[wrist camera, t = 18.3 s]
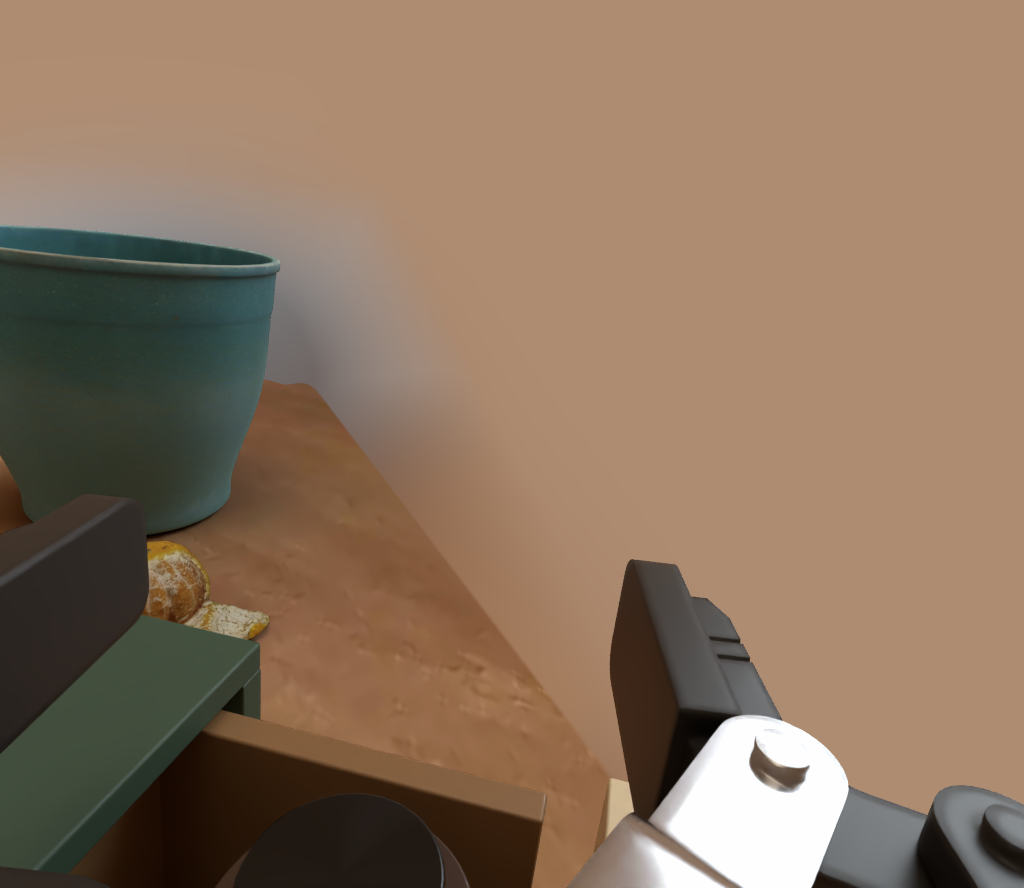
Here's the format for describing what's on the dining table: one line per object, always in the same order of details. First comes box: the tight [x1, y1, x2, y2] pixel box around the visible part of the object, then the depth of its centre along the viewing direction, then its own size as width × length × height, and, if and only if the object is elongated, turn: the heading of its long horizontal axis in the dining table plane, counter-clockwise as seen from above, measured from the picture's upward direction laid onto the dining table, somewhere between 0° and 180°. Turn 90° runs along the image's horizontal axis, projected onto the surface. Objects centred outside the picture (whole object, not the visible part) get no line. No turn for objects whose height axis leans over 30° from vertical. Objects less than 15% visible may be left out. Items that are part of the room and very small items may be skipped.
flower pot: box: [0, 225, 280, 535], centre depth 41 cm, size 18×18×17 cm
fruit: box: [141, 541, 269, 640], centre depth 31 cm, size 8×8×4 cm
